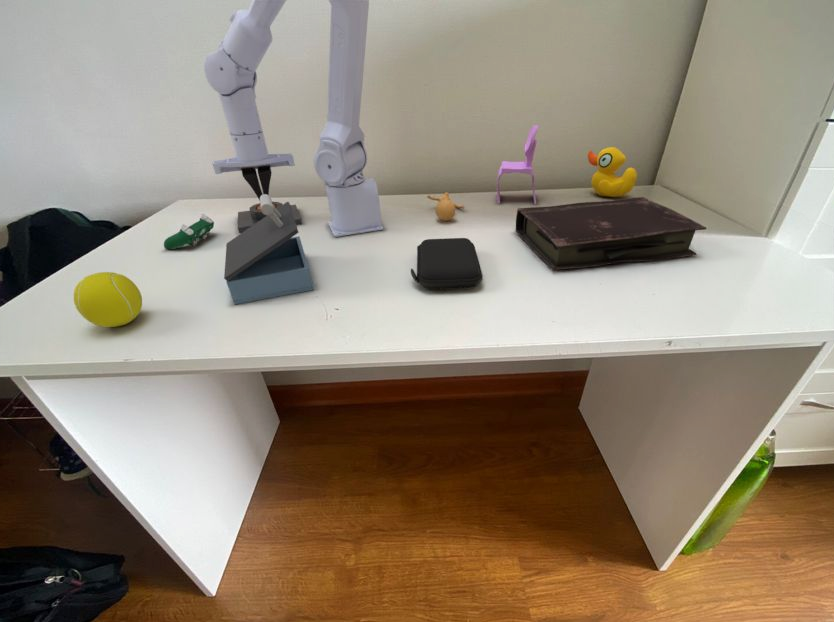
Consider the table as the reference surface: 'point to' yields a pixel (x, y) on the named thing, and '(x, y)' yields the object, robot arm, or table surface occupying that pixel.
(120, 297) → the tennis ball
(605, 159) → the duckling
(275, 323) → the table surface
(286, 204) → the lid
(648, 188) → the table surface
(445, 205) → the figurine
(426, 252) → the carrying case
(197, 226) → the green toy race car
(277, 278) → the lidded storage box
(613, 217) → the diary
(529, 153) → the toy chair
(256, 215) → the control block
